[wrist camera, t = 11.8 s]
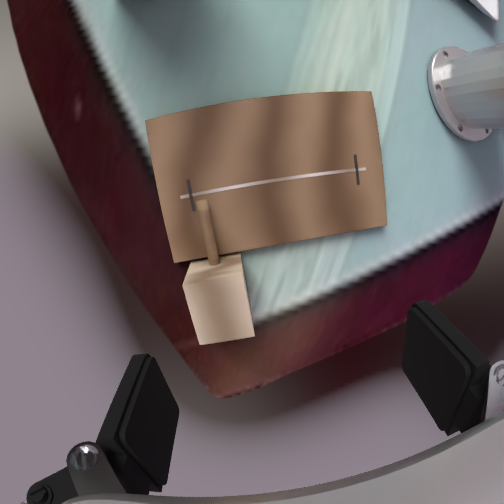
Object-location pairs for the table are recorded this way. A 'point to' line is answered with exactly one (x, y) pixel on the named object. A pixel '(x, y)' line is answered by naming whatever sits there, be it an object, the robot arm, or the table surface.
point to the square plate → (488, 7)
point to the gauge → (217, 291)
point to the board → (269, 170)
